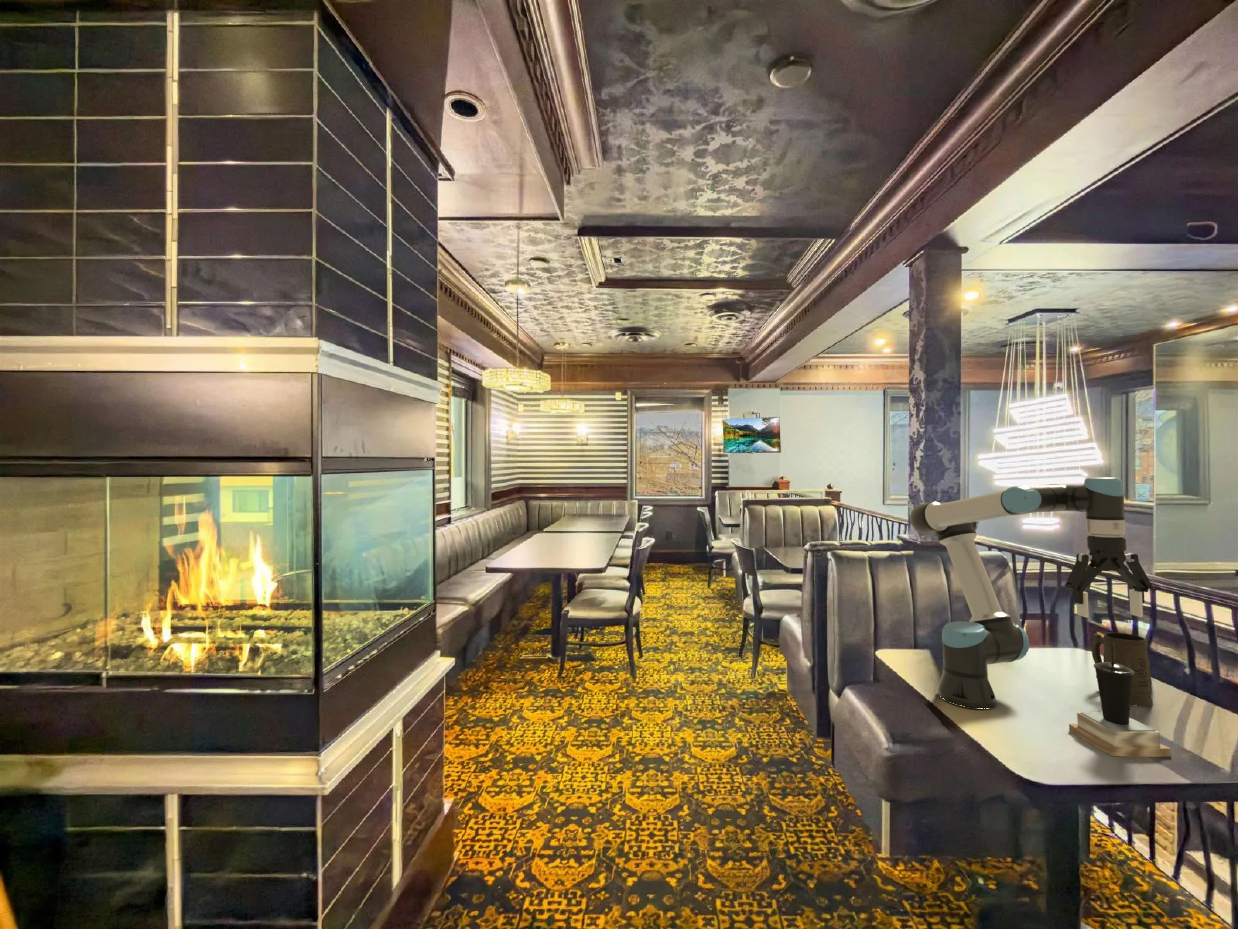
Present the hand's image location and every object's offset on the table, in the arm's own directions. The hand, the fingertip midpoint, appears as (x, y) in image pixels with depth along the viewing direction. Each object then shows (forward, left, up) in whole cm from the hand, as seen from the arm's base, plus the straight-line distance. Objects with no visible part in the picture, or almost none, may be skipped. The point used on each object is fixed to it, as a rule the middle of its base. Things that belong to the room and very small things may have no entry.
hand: (1109, 616), depth 136 cm
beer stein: (+26, +29, -33) cm, 51 cm away
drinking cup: (0, 0, -27) cm, 27 cm away
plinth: (0, 0, -33) cm, 33 cm away
